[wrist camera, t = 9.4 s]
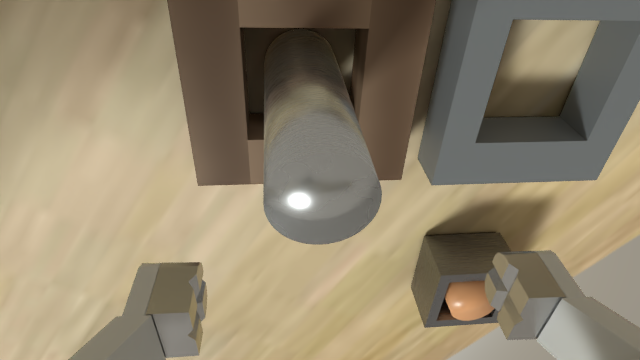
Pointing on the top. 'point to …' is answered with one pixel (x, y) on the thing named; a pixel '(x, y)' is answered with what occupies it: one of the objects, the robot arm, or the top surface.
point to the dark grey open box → (452, 273)
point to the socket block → (296, 12)
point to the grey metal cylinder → (313, 145)
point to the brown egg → (467, 300)
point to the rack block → (529, 132)
